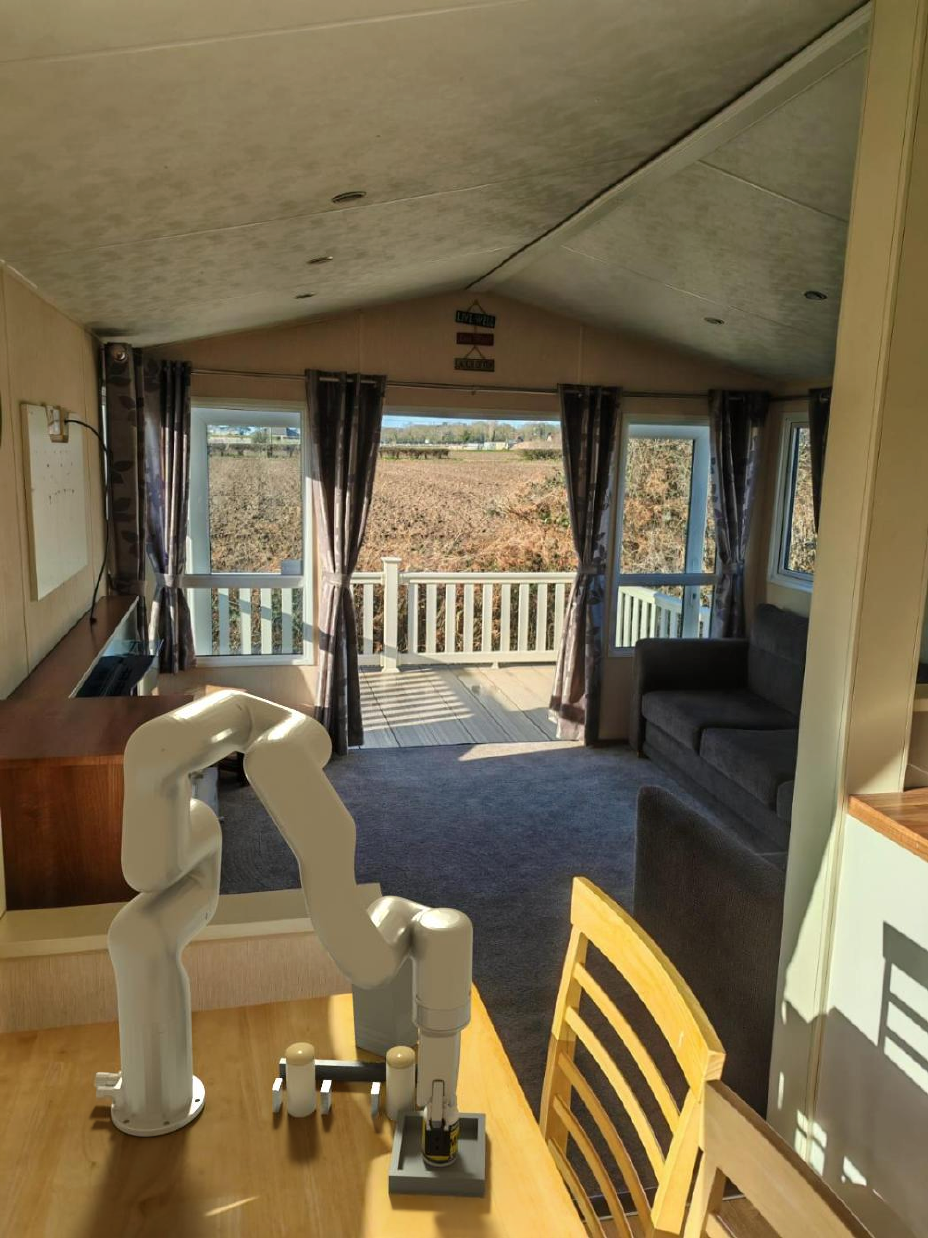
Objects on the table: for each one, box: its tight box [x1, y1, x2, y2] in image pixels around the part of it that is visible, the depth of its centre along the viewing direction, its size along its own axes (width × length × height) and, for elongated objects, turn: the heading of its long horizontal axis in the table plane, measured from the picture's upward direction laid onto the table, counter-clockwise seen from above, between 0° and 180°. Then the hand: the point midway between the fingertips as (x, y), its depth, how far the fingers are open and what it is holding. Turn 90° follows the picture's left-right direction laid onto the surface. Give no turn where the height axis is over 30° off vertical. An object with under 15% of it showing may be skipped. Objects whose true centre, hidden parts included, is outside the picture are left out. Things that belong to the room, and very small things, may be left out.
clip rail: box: [272, 1057, 425, 1117], centre depth 136 cm, size 23×8×4 cm, turn 88°
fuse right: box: [385, 1046, 416, 1122], centre depth 132 cm, size 4×4×9 cm
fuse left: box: [285, 1042, 317, 1118], centre depth 132 cm, size 4×4×9 cm
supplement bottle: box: [422, 1095, 460, 1167], centre depth 123 cm, size 5×5×8 cm
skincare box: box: [351, 958, 419, 1059], centre depth 146 cm, size 8×7×16 cm
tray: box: [387, 1110, 487, 1198], centre depth 124 cm, size 12×12×2 cm
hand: (439, 1129), depth 123 cm, fingers open, 8 cm apart
